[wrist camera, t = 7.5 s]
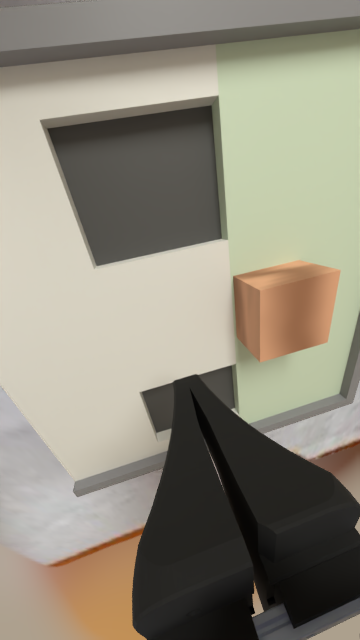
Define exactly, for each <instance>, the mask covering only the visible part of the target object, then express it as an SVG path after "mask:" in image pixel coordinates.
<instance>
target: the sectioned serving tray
mask: <svg viewBox="0 0 360 640" xmlns="http://www.w3.org/2000/svg"><path fill="white" fill-rule="evenodd" d="M297 260H301V261H305V262H309V263H314V264H318V265H322V266H326V267H330V268H335V269H339V270H341V272H340V277H339V283H338V288H337V294H336V299H335V305H334V310H333V316H332V321H331V327H330V332H329V338H328V342H327V343H324V344H320V345H317V346H314V347H310V348H307V349H304V350H300V351H297V352H294V353H290V354H287V355H284V356H280V357H277V358H274V359H270V360H267V361H264V362H259V361H258V360H257V359H256V358H255V357H254V356H253V354H252V353H251V352H250V351H249V350H248V349H247V348H246V347H245V346H244V345H243V344H242V342H241V341H240V340H239V339H238V338H237V333H236V316H235V299H234V282H233V276H235V275H239V274H244V273H248V272H252V271H256V270H260V269H264V268H268V267H272V266H276V265H281V264H285V263H289V262H293V261H297ZM194 374H197V375H199V377H200V378H201V379H202V381H203V382H204V383H205V384H206V385H207V387H208V388H209V389H210V390H211V391H212V392H213V393H214V394H215V395H216V396H217V397H218V398H219V399H220V400H221V401H222V402H223V403H224V404H225V405H226V406H228V407H229V408H230V409H231V410H232V411H233V412H234V413H236V414H237V415H238V416H239V417H241V418H242V419H243V420H244V421H246V422H247V423H248V424H250V425H251V426H252V427H254V428H255V429H256V430H258V431H259V432H261V433H262V434H264V433H266V432H269V431H272V430H275V429H278V428H281V427H284V426H287V425H290V424H293V423H296V422H299V421H302V420H304V419H307V418H310V417H313V416H316V415H319V414H322V413H325V412H328V411H331V410H334V409H337V408H340V407H342V406H345V405H348V404H351V403H353V400H354V397H355V393H356V390H357V387H358V383H359V380H360V0H93V1H79V2H66V3H53V4H40V5H27V6H14V7H0V385H1V387H2V388H3V389H4V391H5V392H6V393H7V394H8V396H9V397H10V398H11V400H12V401H13V402H14V403H15V405H16V406H17V407H18V409H19V410H20V411H21V412H22V414H23V415H24V416H25V418H26V419H27V420H28V422H29V423H30V424H31V425H32V427H33V428H34V429H35V431H36V432H37V433H38V434H39V436H40V437H41V438H42V440H43V441H44V442H45V443H46V445H47V446H48V447H49V449H50V450H51V451H52V452H53V454H54V455H55V456H56V458H57V459H58V460H59V462H60V463H61V464H62V465H63V467H64V468H65V469H66V471H67V472H68V473H69V474H70V476H71V477H72V478H73V480H74V481H75V485H74V489H73V492H74V494H75V495H76V496H77V497H79V496H82V495H85V494H88V493H91V492H94V491H97V490H100V489H103V488H106V487H109V486H111V485H114V484H117V483H120V482H123V481H126V480H129V479H132V478H135V477H138V476H141V475H144V474H147V473H149V472H152V471H155V470H158V469H161V468H164V464H165V460H166V456H167V451H168V446H169V441H170V435H171V428H172V421H173V410H174V388H173V381H174V380H177V379H181V378H184V377H187V376H191V375H194ZM204 441H205V440H204ZM205 443H206V442H205ZM206 446H207V445H206ZM207 449H208V447H207ZM208 451H209V449H208Z"/></svg>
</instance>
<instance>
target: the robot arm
mask: <svg viewBox="0 0 360 640" xmlns="http://www.w3.org/2000/svg"><path fill="white" fill-rule="evenodd" d="M173 388H174V410H173V421H172V428H171V435H170V441H169V446H168V451H167V456H166V460H165V464H164V468H163V472H162V476H161V479H160V483H159V486H158V489H157V493H156V496H155V499H154V502H153V506H152V509H151V511H150V514H149V517H148V520H147V523H146V525H145V528H144V531H143V533H142V536H141V539H140V542H139V545H138V550H137V556H136V562H135V569H134V577H133V591H132V611H133V612H132V613H133V627H134V628H135V629H136V631H137V632H138V633H140V634H141V635H142V636H144V637H145V638H146V639H147V640H307V639H309V638H311V637H313V636H315V635H317V634H319V633H321V632H323V631H325V630H327V629H329V628H331V627H334V626H336V625H338V624H340V623H342V622H344V621H346V620H348V619H350V618H352V617H354V616H356V615H358V614H360V534H359V533H358V531H357V530H356V529H355V525H356V523H357V521H358V519H359V517H360V504H359V503H358V502H357V501H356V499H355V498H354V497H353V496H352V494H351V493H350V492H349V491H348V490H347V489H346V488H345V487H344V486H343V485H342V484H341V482H340V481H339V480H338V479H336V477H335V476H334V475H333V474H332V473H330V472H328V471H326V470H324V469H322V468H320V467H318V466H316V465H314V464H313V463H311V462H309V461H307V460H305V459H303V458H301V457H300V456H298V455H296V454H294V453H293V452H291V451H289V450H287V449H286V448H284V447H282V446H281V445H279V444H278V443H276V442H275V441H273V440H271V439H270V438H268V437H267V436H265V435H264V434H262V433H261V432H259V431H258V430H256V429H255V428H254V427H252V426H251V425H250V424H248V423H247V422H246V421H244V420H243V419H242V418H241V417H239V416H238V415H237V414H236V413H234V412H233V411H232V410H231V409H230V408H229V407H228V406H226V405H225V404H224V403H223V402H222V401H221V400H220V399H219V398H218V397H217V396H216V395H215V394H214V393H213V392H212V391H211V390H210V389H209V388H208V387H207V385H206V384H205V383H204V382H203V381H202V379H201V378H200V377H199V375H197V374H194V375H191V376H187V377H184V378H181V379H177V380H174V381H173ZM204 440H205V441H204ZM205 442H206V443H205ZM206 445H207V446H206ZM207 447H208V449H209V451H208V449H207ZM209 452H210V454H211V456H212V459H213V461H214V463H215V466H216V468H217V471H218V474H219V477H220V479H221V482H222V485H223V487H222V485H221V482H220V479H219V477H218V474H217V472H216V469H215V467H214V464H213V462H212V459H211V456H210V454H209ZM223 488H224V490H223ZM224 491H225V492H224ZM225 494H226V495H225ZM254 583H255V586H256V589H257V592H258V595H259V598H260V601H261V604H262V607H263V610H264V612H263V613H261V614H259V615H257V616H255V617H252V616H251V615H252V614H254V613H255V611H254V608H253V599H252V594H254Z"/></svg>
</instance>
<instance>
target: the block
mask: <svg viewBox="0 0 360 640" xmlns="http://www.w3.org/2000/svg"><path fill="white" fill-rule="evenodd" d="M340 272H341V270H339V269H335V268H330V267H326V266H322V265H318V264H314V263H309V262H305V261H301V260H297V261H293V262H289V263H285V264H281V265H276V266H272V267H268V268H264V269H260V270H256V271H252V272H248V273H244V274H239V275H235V276H233V282H234V299H235V316H236V333H237V338H238V339H239V340H240V341H241V342H242V344H243V345H244V346H245V347H246V348H247V349H248V350H249V351H250V352H251V353H252V354H253V356H254V357H255V358H256V359H257V360H258V361H259V362H264V361H267V360H270V359H274V358H277V357H280V356H284V355H287V354H290V353H294V352H297V351H300V350H304V349H307V348H310V347H314V346H317V345H320V344H324V343H327V342H328V338H329V332H330V327H331V321H332V316H333V310H334V305H335V299H336V294H337V288H338V283H339V277H340Z"/></svg>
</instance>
